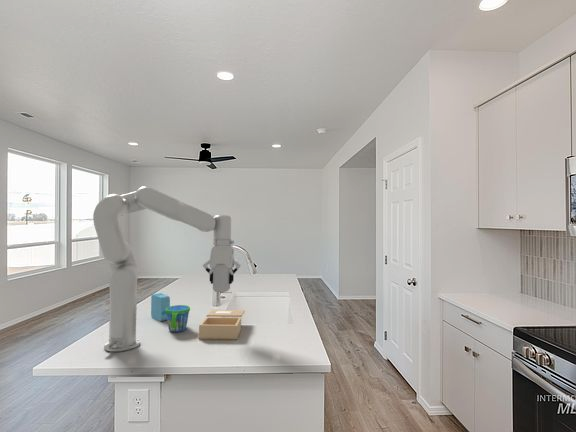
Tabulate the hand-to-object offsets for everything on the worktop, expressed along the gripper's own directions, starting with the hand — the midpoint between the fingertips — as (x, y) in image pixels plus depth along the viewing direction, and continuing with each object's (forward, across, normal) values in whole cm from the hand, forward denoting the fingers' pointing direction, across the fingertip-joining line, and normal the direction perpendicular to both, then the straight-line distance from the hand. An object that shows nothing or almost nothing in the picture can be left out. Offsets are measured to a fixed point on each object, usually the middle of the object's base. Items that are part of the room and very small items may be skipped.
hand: (221, 283), depth 144 cm
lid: (+16, 0, -13) cm, 20 cm away
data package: (+23, +36, -24) cm, 49 cm away
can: (+4, 0, 0) cm, 4 cm away
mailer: (+23, 0, 0) cm, 23 cm away
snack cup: (+23, +21, -6) cm, 32 cm away
